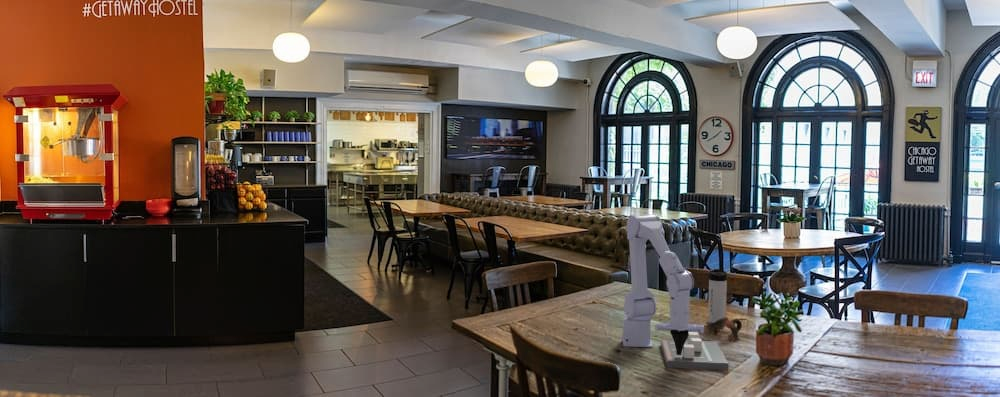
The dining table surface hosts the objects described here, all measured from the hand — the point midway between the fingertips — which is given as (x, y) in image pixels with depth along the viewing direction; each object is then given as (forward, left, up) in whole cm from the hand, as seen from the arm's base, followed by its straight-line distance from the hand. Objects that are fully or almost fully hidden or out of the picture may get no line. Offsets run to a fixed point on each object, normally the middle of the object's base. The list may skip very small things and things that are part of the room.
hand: (678, 354), depth 218 cm
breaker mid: (+6, +7, -1) cm, 9 cm away
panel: (+5, +7, -3) cm, 9 cm away
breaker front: (+3, 0, -1) cm, 3 cm away
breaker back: (+6, +14, -1) cm, 15 cm away
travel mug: (+19, +48, -3) cm, 52 cm away
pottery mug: (+20, +31, -3) cm, 36 cm away
